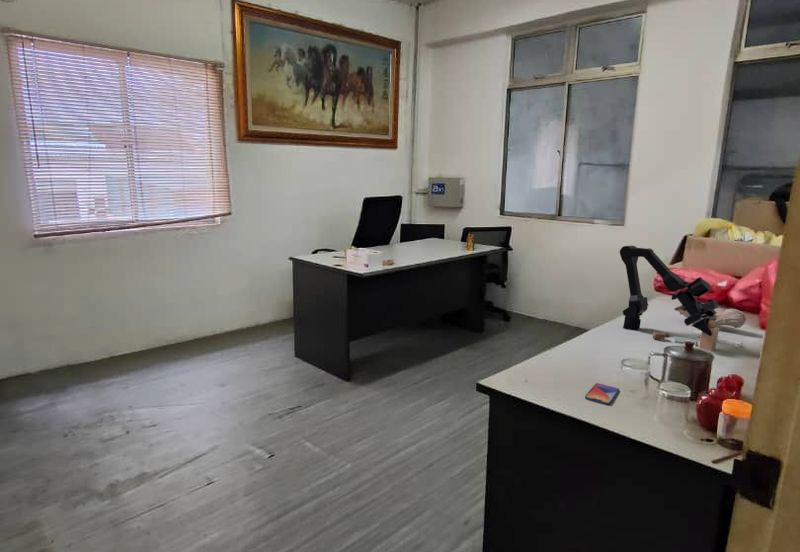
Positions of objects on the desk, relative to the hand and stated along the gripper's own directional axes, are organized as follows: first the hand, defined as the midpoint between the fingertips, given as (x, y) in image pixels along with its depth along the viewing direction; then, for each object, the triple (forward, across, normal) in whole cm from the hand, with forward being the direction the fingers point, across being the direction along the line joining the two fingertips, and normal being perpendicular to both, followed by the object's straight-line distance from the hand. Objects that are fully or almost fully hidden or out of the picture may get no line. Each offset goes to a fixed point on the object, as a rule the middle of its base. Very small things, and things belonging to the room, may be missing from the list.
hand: (713, 334), depth 204 cm
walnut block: (-8, -6, +18) cm, 21 cm away
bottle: (+4, 0, +6) cm, 7 cm away
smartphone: (+5, -84, +5) cm, 85 cm away
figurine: (-6, +39, +16) cm, 43 cm away
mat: (-3, +1, +12) cm, 13 cm away
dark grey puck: (-10, +2, +20) cm, 22 cm away
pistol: (+2, +21, +8) cm, 23 cm away
